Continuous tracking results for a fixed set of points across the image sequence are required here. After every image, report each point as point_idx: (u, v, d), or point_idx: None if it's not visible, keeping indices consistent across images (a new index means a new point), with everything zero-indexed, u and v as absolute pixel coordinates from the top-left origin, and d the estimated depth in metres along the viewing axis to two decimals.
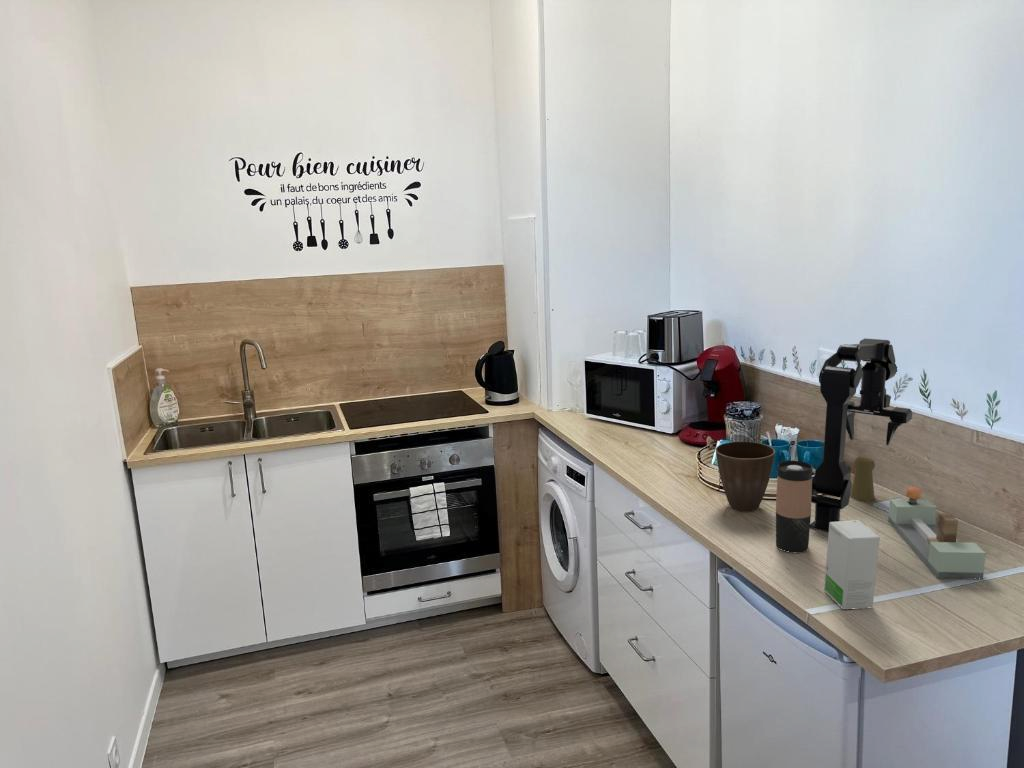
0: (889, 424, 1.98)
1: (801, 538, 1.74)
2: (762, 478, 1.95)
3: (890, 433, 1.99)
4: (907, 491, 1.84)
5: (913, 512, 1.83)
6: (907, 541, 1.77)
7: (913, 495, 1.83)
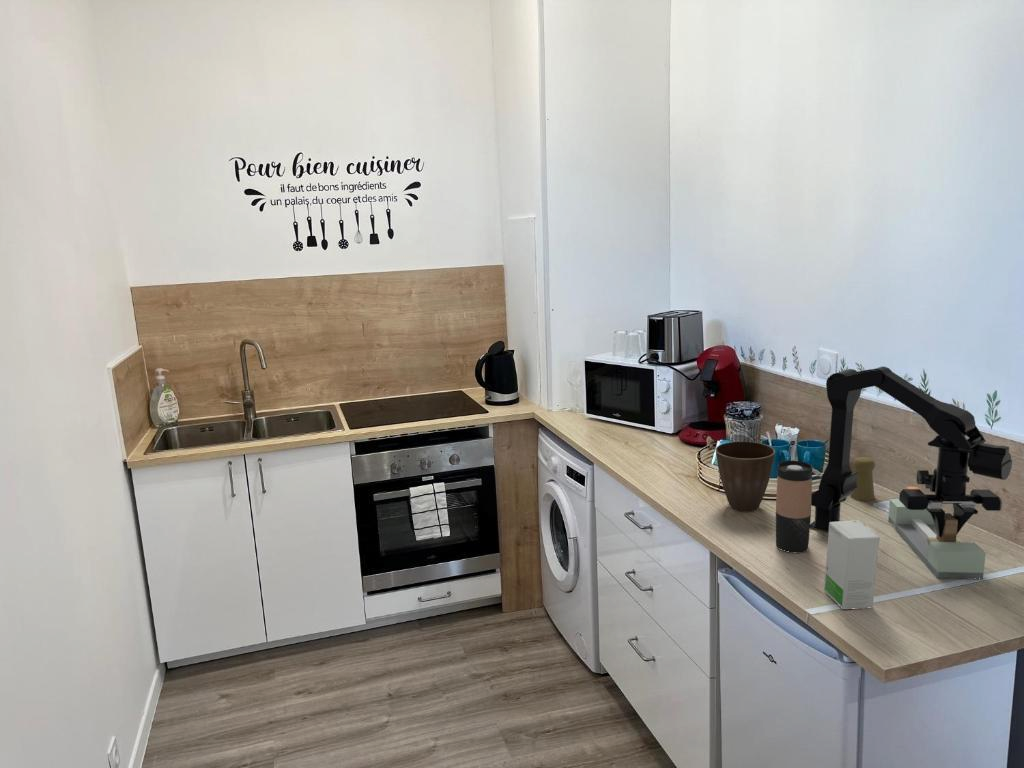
0: (965, 513, 1.61)
1: (801, 538, 1.74)
2: (762, 478, 1.95)
3: (963, 523, 1.63)
4: None
5: (913, 512, 1.83)
6: (907, 541, 1.77)
7: None
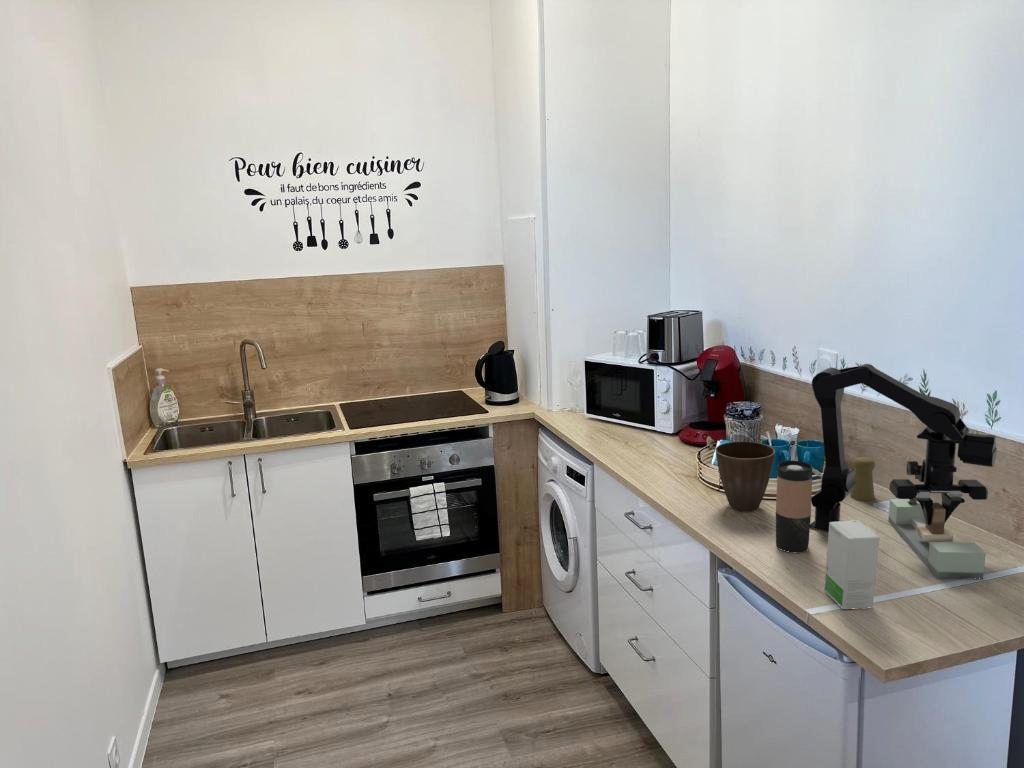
0: (953, 502, 1.67)
1: (801, 538, 1.74)
2: (762, 478, 1.95)
3: (950, 512, 1.69)
4: None
5: (913, 512, 1.83)
6: (907, 541, 1.77)
7: None
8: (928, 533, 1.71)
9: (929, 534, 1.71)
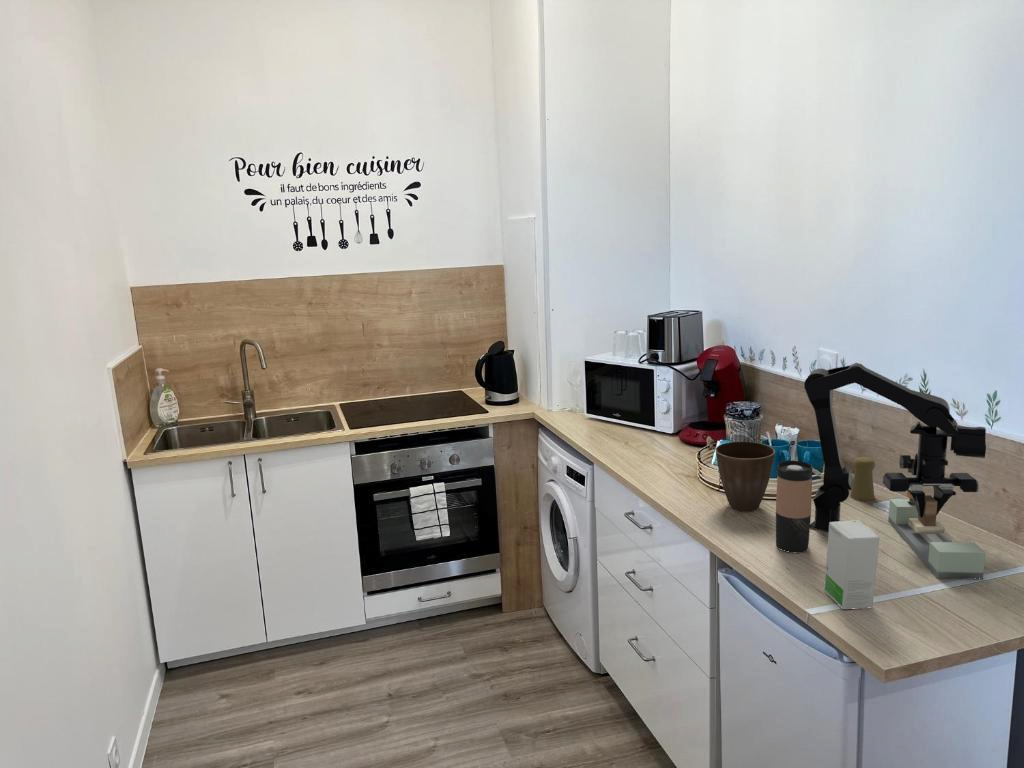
0: (944, 495, 1.72)
1: (801, 538, 1.74)
2: (762, 478, 1.95)
3: (942, 504, 1.73)
4: (907, 491, 1.84)
5: (913, 512, 1.83)
6: (907, 541, 1.77)
7: None
8: (920, 525, 1.76)
9: (921, 526, 1.75)
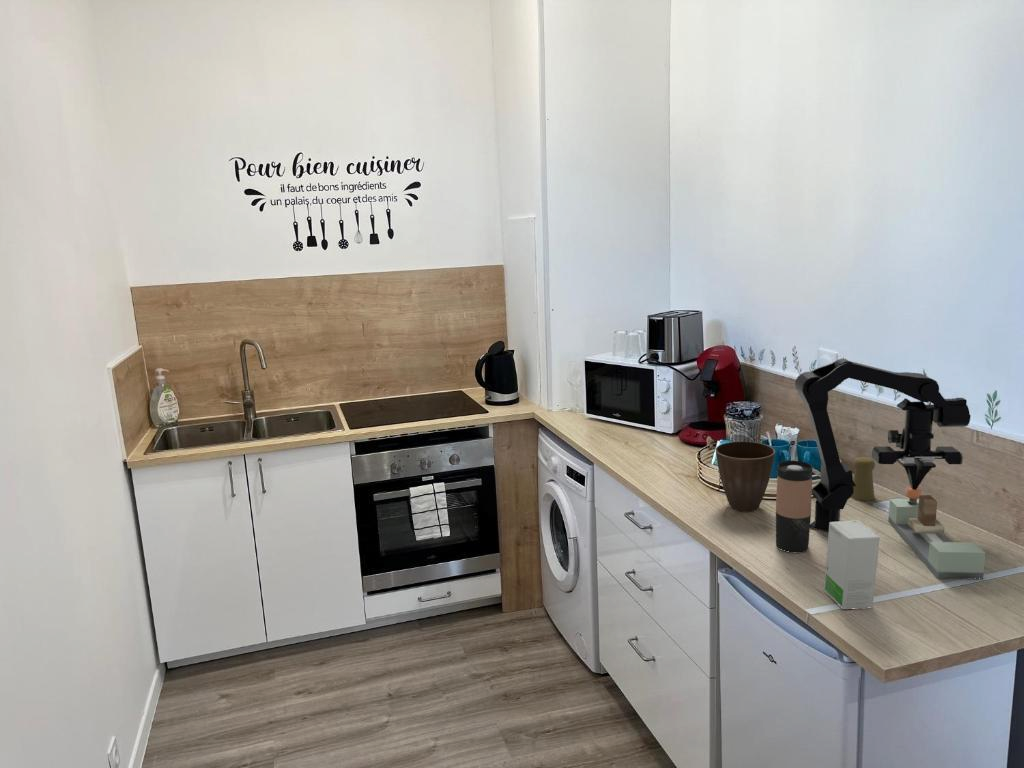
0: (925, 467, 1.80)
1: (801, 538, 1.74)
2: (762, 478, 1.95)
3: (923, 476, 1.81)
4: (907, 492, 1.84)
5: (913, 512, 1.83)
6: (907, 541, 1.77)
7: (913, 495, 1.83)
8: (920, 524, 1.76)
9: (921, 526, 1.75)
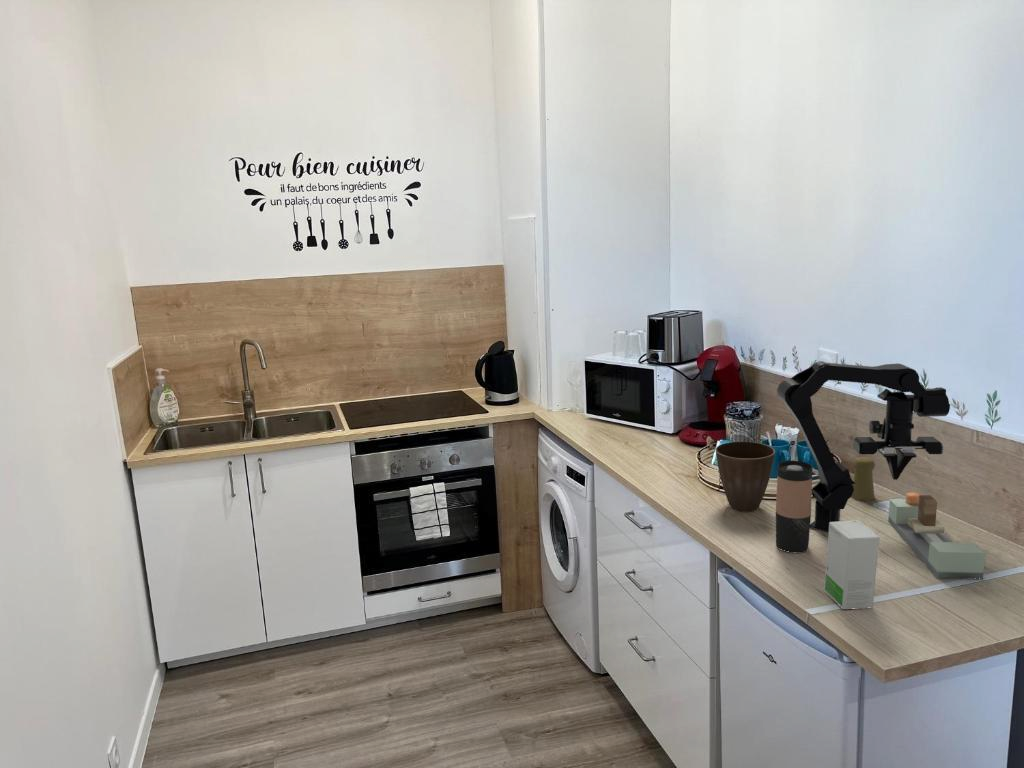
0: (905, 457, 1.80)
1: (801, 538, 1.74)
2: (762, 478, 1.95)
3: (904, 466, 1.82)
4: (907, 497, 1.84)
5: (913, 512, 1.83)
6: (907, 541, 1.77)
7: (912, 501, 1.83)
8: (920, 524, 1.76)
9: (921, 526, 1.75)
